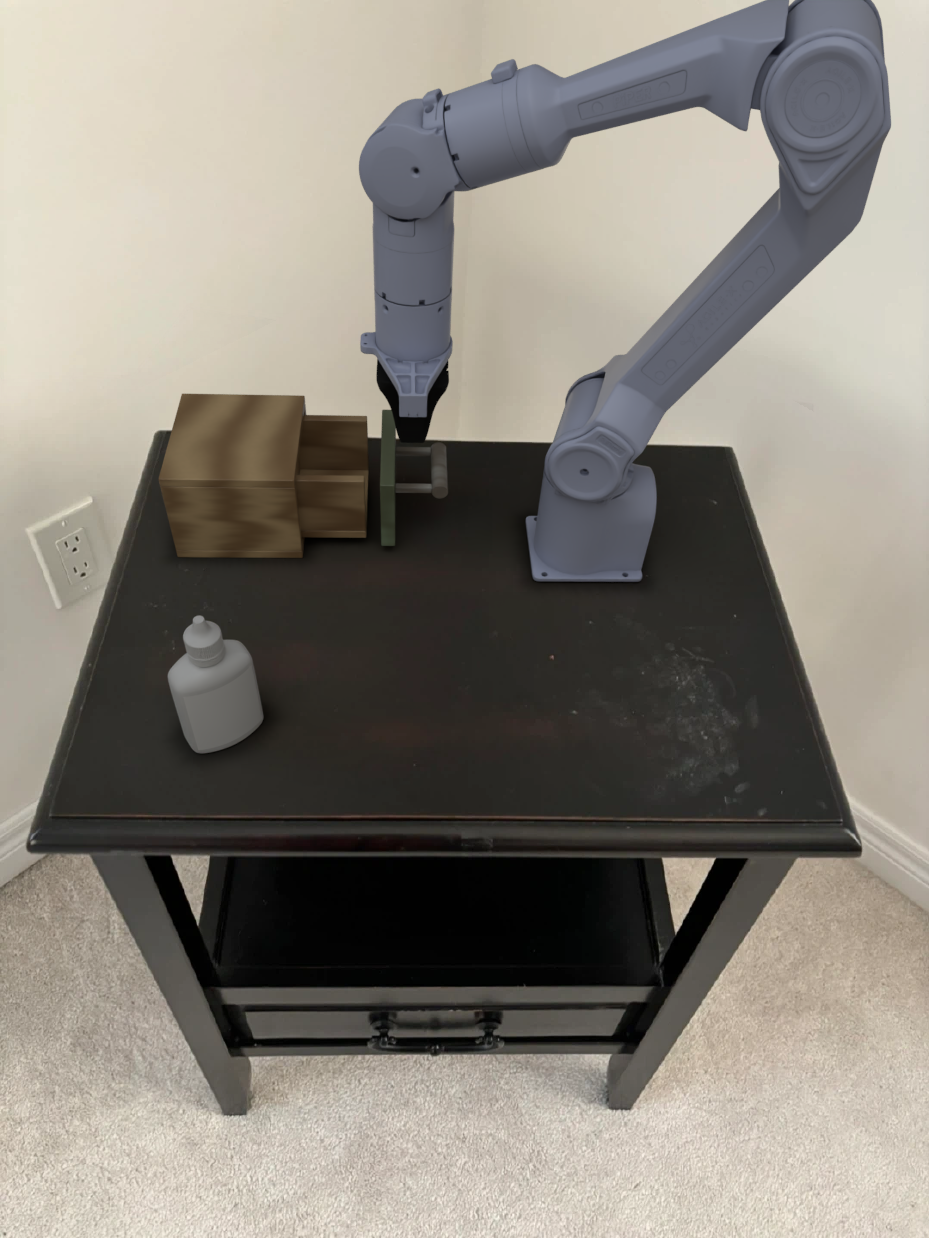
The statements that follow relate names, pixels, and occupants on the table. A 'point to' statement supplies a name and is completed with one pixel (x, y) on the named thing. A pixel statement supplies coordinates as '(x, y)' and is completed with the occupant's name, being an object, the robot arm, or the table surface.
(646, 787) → the table surface
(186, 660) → the eye dropper bottle
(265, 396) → the cabinet
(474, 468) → the table surface
